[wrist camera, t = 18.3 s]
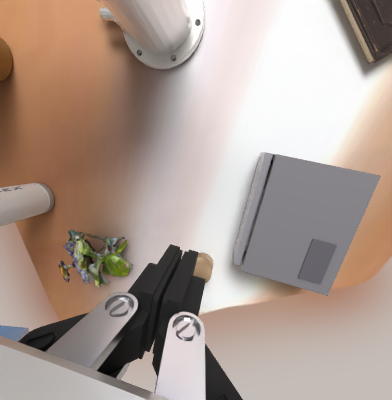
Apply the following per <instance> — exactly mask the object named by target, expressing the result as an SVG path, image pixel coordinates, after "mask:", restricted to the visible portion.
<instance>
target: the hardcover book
mask: <svg viewBox="0 0 392 400" xmlns="http://www.w3.org/2000/svg"><path fill="white" fill-rule="evenodd" d="M340 2H341V4H342V6H343V9H344V11H345V13H346V15H347V17H348V19H349V22H350V24H351V26H352V28H353V30H354V33H355V35H356V37H357V39H358V41H359V43H360V46H361V48H362V50H363V52H364V54H365V56H366V59H367V61H368V63H370V62H372V61H374V62H377V61H379V60H380V59H382V58H384V57H385V56H387V55H389V54H390V53H392V0H340Z"/></svg>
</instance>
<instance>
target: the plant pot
mask: <svg viewBox="0 0 392 400" xmlns="http://www.w3.org/2000/svg"><path fill="white" fill-rule="evenodd" d="M12 65H13V61H12V55H11V51H10V49H9V47H8V45H7V44H6V42H5V41H4V40H3V39H2V38H1V37H0V81H2V80H5V79H6V78H7V77H8V76H9V75H10V73H11V70H12Z"/></svg>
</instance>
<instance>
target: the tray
mask: <svg viewBox="0 0 392 400" xmlns="http://www.w3.org/2000/svg"><path fill="white" fill-rule="evenodd" d="M272 156H273V154H270V153H261V155H260V158H259V162H258V166H257V169H256V173H255V176H254V180H253V183H252V187H251V190H250V194H249V198H248V201H247V205H246V208H245V212H244V215H243V219H242V222H241V226H240V230H239V233H238V237H237V240H236V244H235V247H234V264H236V265H240V264H241V261H242V257H243V254H244V251H247V248H248V244H249V241H250V238H251V234H252V231H253V227H254V224H255V221H256V217H257V214H258V211H259V207H260V204H261V201H262V197H263V194H264V191H265V187H266V184H267V181H268V177H269V174H270V171H271V167H272V164H270V163H271V159H272Z"/></svg>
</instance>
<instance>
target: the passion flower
mask: <svg viewBox="0 0 392 400" xmlns="http://www.w3.org/2000/svg"><path fill="white" fill-rule="evenodd" d="M68 233H69V235H70V239H69V240H68V241H67V242H66V245H67V246H66V245H64V247H65V248H66V249H67V251H68V253H69V255H71V256H72V257H73V263H72V264H71V265H69V266H66V265H65V264H64V262H63V261H59V268H60V272H61V273H62V275H63V278H64V279H65V280H66V282H69V280H70V279H69V276H70V274H69V273H68V269H70V268H71V267H75V268H77V269H78V274H79V273H80V275H81V277H82V279H83V282H84V283H85V282H86V283H88V282H89V283H90V284H91V281H92V280H93V279H94V280H95V285H96V286H98V288H99V287H100V285H101V283H102V284H108V283H109V282H108V281H107V280H106V279H105V278H104V277H103V276H102V275H101V273H100V270H99V266H100V264H101V262H102V264H103V267H102V268H103V269H102V272H103V273H104V274H107V275H108V274H110V275H113V276H118V277H123V276H127V275H128V274H129V272H130V271H129V269H130V268H133V264H131V265H130V263H129V262H128V261H127V260H125V259H124V258H122V256H121V255H119V254H118V253H120V252H121V251H122V250H123V249H124V248H125V247H126V244H127V241H128V240H125V242H123V243H122V244H121V245H120V246H118V247H113V245H114V244H116V242H117V240H119V239H123V238H124V237H119V238H108V237H106V238H101V237H97V236H93V235H89V234H86V233H82V232H80V233H79V232H78V231H77V232H75V231H74V230H70V231H69V232H68ZM84 235H87V236H89V237H92V238H98V239H101V240H103V241H104V242H105V246H104V247H103V248H105V252H104V254H99V253H98V252H100V251H101V250H102V249H103V248H102V249H100V250H99V251H98V252H97V253H96V252H95V249H94V248H93V247H92V246H91V244H90V243H89V241H88V239H86V240H84ZM108 244H109V246H110V247H111V248H112V250H111V251H108ZM92 257H93V258H97V261H96V262H94V261H92Z"/></svg>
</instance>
